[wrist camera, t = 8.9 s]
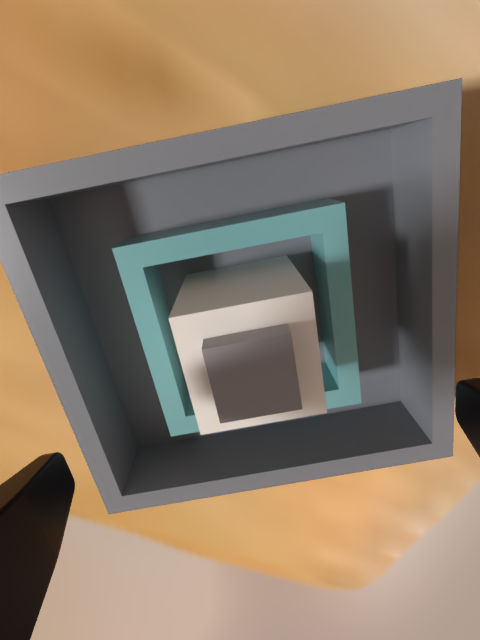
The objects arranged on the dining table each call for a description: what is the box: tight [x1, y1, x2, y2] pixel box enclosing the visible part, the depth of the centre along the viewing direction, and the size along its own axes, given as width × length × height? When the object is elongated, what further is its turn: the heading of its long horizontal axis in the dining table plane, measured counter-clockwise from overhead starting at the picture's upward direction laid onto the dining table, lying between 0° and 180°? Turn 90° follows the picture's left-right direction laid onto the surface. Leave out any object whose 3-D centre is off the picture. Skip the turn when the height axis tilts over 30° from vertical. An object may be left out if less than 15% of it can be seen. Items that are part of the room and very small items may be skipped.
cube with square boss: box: [168, 255, 327, 435], centre depth 13 cm, size 4×4×6 cm
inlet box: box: [0, 78, 462, 514], centre depth 14 cm, size 14×13×4 cm
